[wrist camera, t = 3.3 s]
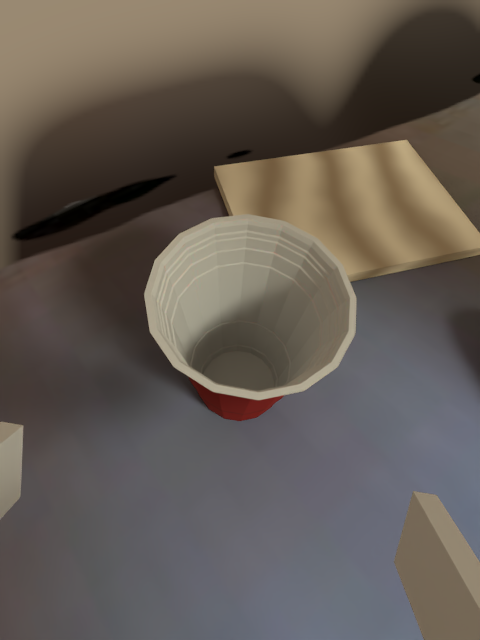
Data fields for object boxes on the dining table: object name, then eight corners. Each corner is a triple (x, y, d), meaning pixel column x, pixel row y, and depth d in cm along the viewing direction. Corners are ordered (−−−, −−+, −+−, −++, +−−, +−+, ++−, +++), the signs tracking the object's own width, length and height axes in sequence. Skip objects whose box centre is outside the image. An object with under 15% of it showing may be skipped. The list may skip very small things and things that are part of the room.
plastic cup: (198, 489, 27) (191, 432, 17) (145, 352, 32) (115, 245, 22) (339, 423, 30) (406, 341, 20) (271, 307, 35) (296, 194, 25)
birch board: (402, 149, 48) (406, 139, 47) (482, 254, 40) (489, 245, 39) (213, 176, 43) (214, 166, 42) (261, 300, 35) (263, 291, 34)
